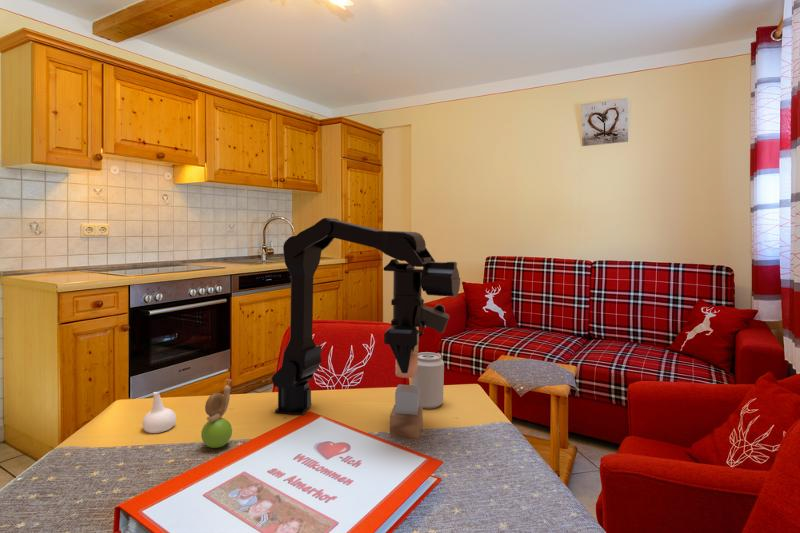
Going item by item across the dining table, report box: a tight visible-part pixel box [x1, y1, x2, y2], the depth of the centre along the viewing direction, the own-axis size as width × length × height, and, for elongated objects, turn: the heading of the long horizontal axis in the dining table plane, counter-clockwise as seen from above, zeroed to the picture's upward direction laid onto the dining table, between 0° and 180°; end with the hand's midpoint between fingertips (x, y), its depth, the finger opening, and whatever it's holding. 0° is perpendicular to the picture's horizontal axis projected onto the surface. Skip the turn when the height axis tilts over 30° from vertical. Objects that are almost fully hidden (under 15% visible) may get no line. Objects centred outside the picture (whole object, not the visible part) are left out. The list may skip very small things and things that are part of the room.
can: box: [411, 351, 445, 410], centre depth 111 cm, size 8×8×12 cm
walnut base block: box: [389, 404, 424, 440], centre depth 96 cm, size 6×6×4 cm
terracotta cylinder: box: [395, 350, 419, 379], centre depth 95 cm, size 4×4×4 cm
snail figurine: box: [200, 378, 233, 449], centre depth 88 cm, size 5×6×12 cm
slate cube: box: [394, 384, 419, 415], centre depth 96 cm, size 4×4×4 cm
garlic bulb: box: [142, 391, 177, 434], centre depth 96 cm, size 6×6×8 cm
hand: (406, 369), depth 96 cm, fingers closed on terracotta cylinder, 4 cm apart
